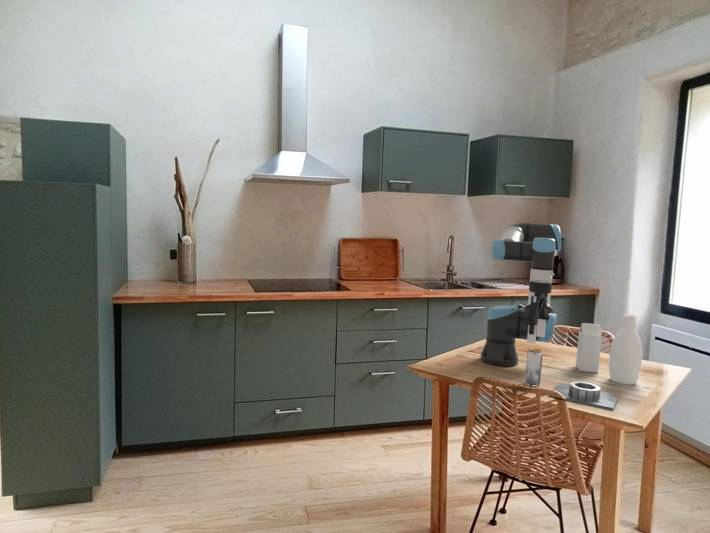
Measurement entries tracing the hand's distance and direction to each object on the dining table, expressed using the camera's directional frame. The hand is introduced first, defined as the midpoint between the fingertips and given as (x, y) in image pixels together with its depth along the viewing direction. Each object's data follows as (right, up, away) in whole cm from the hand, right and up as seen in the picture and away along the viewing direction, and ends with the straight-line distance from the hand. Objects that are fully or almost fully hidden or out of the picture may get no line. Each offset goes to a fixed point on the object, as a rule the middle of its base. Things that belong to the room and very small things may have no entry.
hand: (535, 340), depth 192 cm
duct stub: (-1, -16, +2) cm, 16 cm away
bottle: (+37, -17, +11) cm, 42 cm away
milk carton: (+29, -16, +25) cm, 41 cm away
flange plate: (+13, -18, -9) cm, 24 cm away
